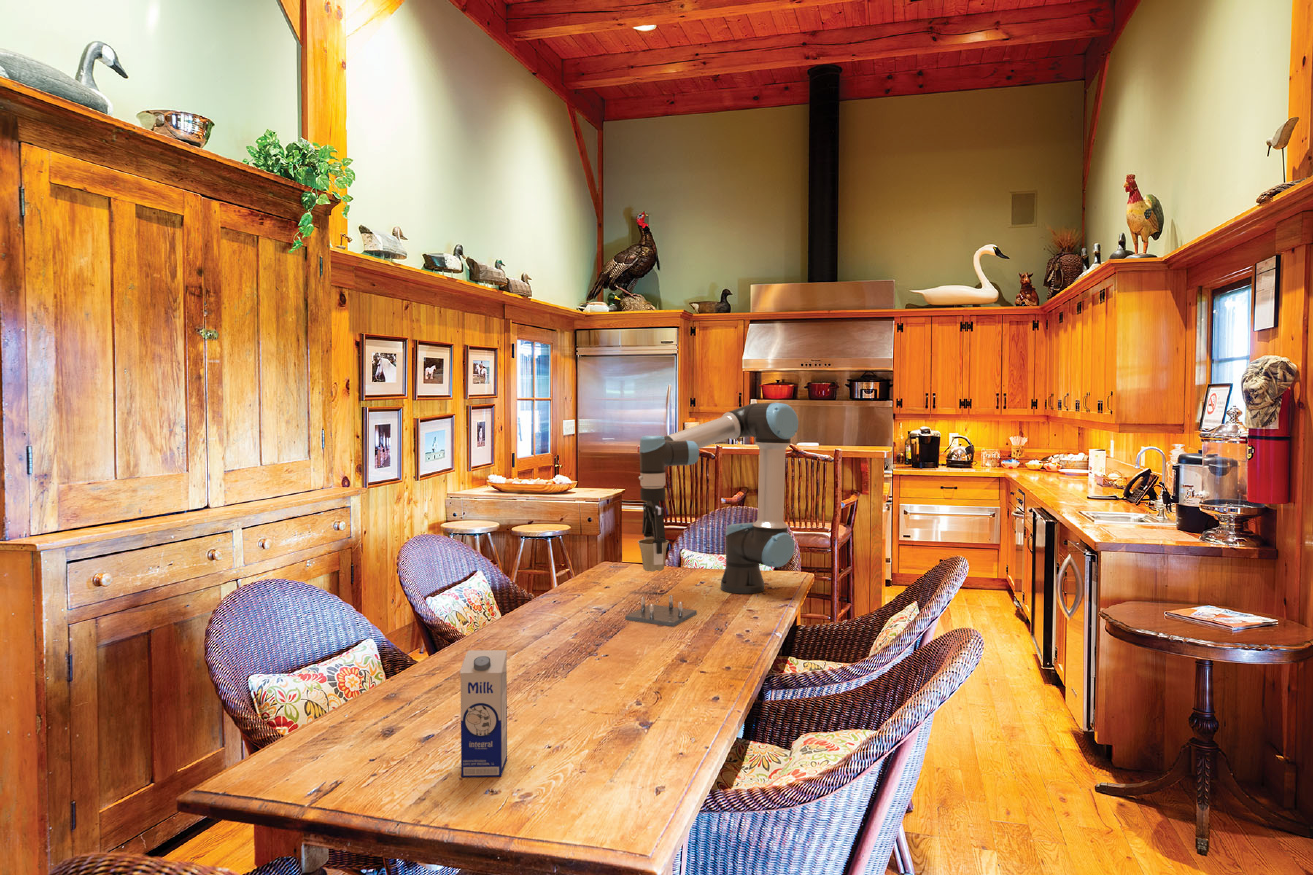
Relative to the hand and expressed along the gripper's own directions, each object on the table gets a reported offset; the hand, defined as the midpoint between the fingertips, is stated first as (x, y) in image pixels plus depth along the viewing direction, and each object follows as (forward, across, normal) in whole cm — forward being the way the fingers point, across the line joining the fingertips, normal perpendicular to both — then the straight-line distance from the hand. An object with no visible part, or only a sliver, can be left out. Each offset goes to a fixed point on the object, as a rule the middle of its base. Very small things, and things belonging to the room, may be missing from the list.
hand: (653, 561), depth 239 cm
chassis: (+17, +1, +2) cm, 17 cm away
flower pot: (+3, 0, 0) cm, 3 cm away
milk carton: (+16, +89, -57) cm, 107 cm away
